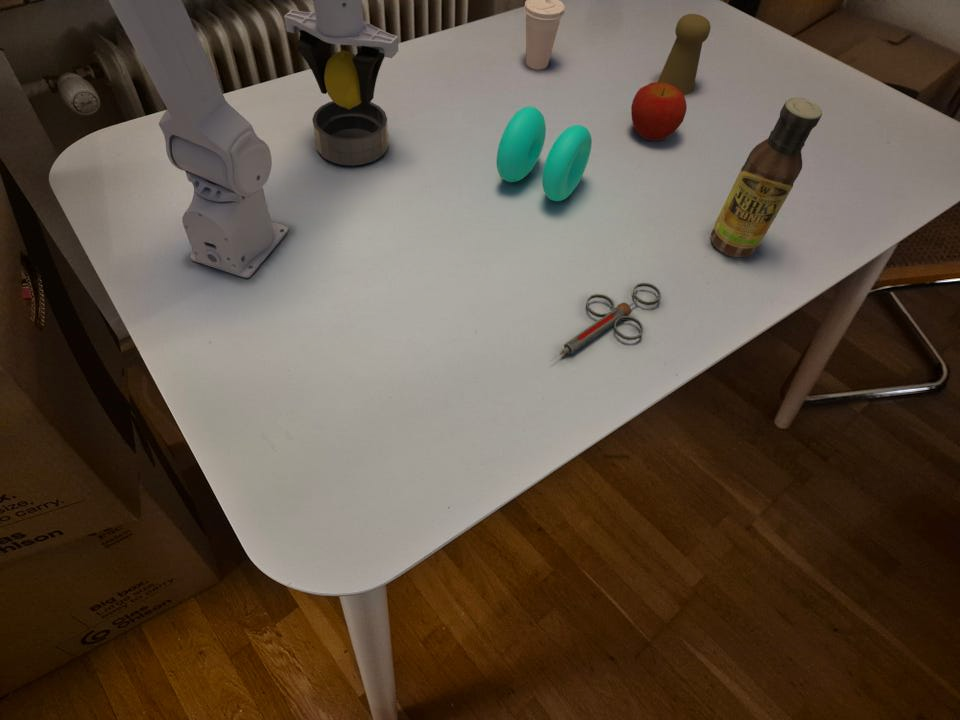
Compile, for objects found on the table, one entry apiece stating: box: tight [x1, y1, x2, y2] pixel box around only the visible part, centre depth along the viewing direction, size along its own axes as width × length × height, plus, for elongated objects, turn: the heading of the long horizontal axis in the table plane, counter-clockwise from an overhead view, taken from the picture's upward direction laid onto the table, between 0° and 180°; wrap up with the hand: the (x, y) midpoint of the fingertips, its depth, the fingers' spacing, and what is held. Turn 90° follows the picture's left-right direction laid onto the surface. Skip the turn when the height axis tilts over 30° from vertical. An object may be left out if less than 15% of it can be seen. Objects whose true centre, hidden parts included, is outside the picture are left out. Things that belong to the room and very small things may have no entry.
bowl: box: [311, 100, 389, 166], centre depth 93 cm, size 10×10×4 cm
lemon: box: [324, 49, 362, 109], centre depth 87 cm, size 6×6×8 cm
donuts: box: [496, 106, 592, 202], centre depth 88 cm, size 10×10×10 cm
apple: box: [630, 81, 688, 141], centre depth 98 cm, size 8×8×8 cm
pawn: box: [657, 13, 711, 96], centre depth 106 cm, size 6×6×11 cm
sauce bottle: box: [710, 97, 823, 258], centre depth 79 cm, size 6×6×20 cm
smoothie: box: [523, 0, 565, 71], centre depth 107 cm, size 6×6×14 cm
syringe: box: [550, 282, 662, 362], centre depth 76 cm, size 8×18×2 cm, turn 131°
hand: (347, 95), depth 89 cm, fingers closed on lemon, 5 cm apart
